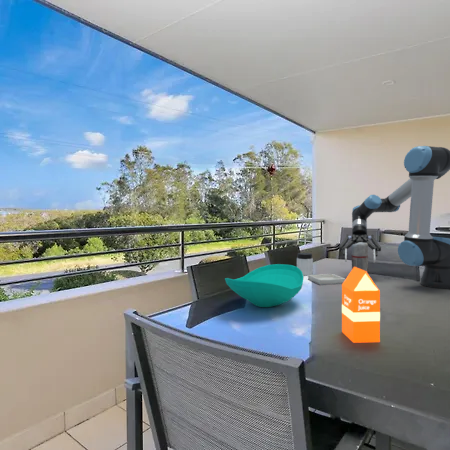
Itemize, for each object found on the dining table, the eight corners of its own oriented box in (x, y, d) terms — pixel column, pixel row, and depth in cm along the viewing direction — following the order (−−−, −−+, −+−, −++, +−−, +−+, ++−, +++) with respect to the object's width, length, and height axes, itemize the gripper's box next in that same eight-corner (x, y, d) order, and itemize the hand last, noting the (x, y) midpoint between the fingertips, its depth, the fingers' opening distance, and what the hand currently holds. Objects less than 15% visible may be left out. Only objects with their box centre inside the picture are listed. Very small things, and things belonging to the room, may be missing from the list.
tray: (346, 283, 173) (346, 278, 173) (319, 285, 171) (319, 280, 171) (332, 278, 187) (332, 273, 187) (308, 279, 185) (308, 275, 185)
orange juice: (366, 331, 106) (366, 266, 105) (380, 342, 97) (380, 271, 96) (341, 331, 106) (341, 266, 105) (352, 342, 97) (352, 271, 96)
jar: (306, 276, 193) (306, 255, 193) (294, 274, 199) (294, 253, 198) (315, 274, 199) (315, 253, 199) (303, 272, 205) (303, 252, 205)
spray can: (366, 283, 173) (366, 243, 172) (349, 281, 178) (349, 242, 177) (370, 280, 180) (370, 241, 179) (354, 278, 185) (354, 241, 184)
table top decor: (257, 290, 161) (257, 262, 161) (316, 298, 146) (316, 266, 146) (207, 312, 128) (206, 276, 128) (276, 325, 113) (276, 284, 112)
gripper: (384, 234, 188) (386, 265, 175) (335, 233, 197) (334, 263, 184) (385, 224, 183) (387, 256, 170) (335, 224, 192) (334, 255, 178)
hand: (360, 260), depth 177 cm, fingers open, 13 cm apart
